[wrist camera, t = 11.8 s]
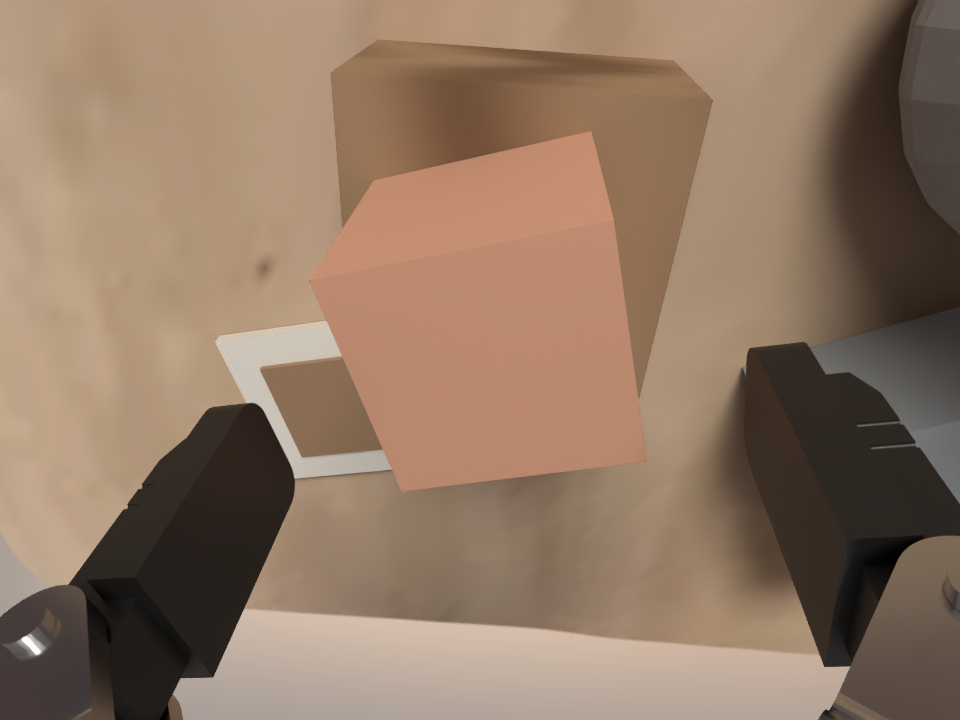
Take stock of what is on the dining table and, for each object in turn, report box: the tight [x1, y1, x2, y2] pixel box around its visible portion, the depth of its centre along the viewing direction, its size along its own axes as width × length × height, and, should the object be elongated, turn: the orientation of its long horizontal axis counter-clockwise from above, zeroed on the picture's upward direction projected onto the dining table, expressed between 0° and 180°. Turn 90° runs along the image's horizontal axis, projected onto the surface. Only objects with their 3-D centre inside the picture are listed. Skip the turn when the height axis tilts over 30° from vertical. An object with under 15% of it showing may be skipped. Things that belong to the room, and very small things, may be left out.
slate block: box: [742, 307, 960, 504], centre depth 21 cm, size 8×8×5 cm
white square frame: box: [215, 321, 392, 479], centre depth 24 cm, size 7×7×1 cm
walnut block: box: [331, 40, 713, 400], centre depth 18 cm, size 8×8×5 cm
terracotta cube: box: [309, 131, 647, 492], centre depth 13 cm, size 5×5×5 cm
